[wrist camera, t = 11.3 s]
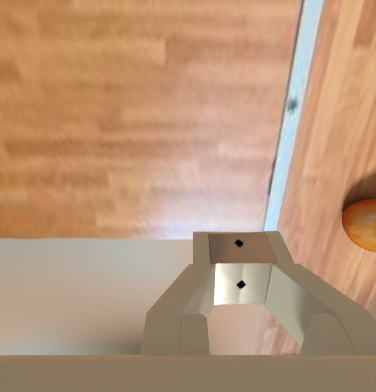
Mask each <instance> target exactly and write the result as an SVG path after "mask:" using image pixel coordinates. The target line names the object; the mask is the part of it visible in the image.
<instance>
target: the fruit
mask: <svg viewBox="0 0 376 392" xmlns="http://www.w3.org/2000/svg"><path fill="white" fill-rule="evenodd" d="M342 224H343V228H344V230H345V232H346V234H347V235H348V237H349V238H350V239H351V240H352V241H353V242H354V243H355V244H356V245H358V246H360V247H361V248H364V249H366V250H368V251H373V252H376V199H366V200H362V201H358V202H355V203H353V204H351V205H350V206H348V207H347V208H346V209H345V210H344V212H343V214H342Z"/></svg>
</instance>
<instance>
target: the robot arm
mask: <svg viewBox="0 0 376 392" xmlns="http://www.w3.org/2000/svg"><path fill="white" fill-rule="evenodd" d="M215 304H265V307H266V308H267V309H268V310H269V311H270V312H271V313H272V315H273V316H274V317H275V318H276V319H277V320H278V321H279V322H280V324H281V325H282V326H283V327H284V328H285V329H286V330H287V332H288V333H289V334H290V335H291V336H292V337H293V338H294V339H295V341H296V342H297V343H298V344H299V345H300V346H301V349H300V352H299V355H209V341H208V328H207V318H208V316H209V314H210V312H211V311H212V309H213V307H214V305H215ZM0 392H376V321H375V319H374V318H373V316H372V315H371V313H370V312H369V311H367V310H366V309H364V308H363V307H361V306H360V305H358V304H357V303H356V302H354V301H353V300H351V299H350V298H348V297H347V296H345V295H344V294H342V293H341V292H340V291H338V290H337V289H335V288H334V287H332V286H331V285H329V284H328V283H327V282H325V281H324V280H322V279H321V278H319V277H318V276H316V275H315V274H313V273H312V272H311V271H309V270H308V269H306V268H305V267H303V266H302V265H300V264H295V263H294V261H293V259H292V257H291V255H290V253H289V251H288V249H287V246H286V244H285V242H284V240H283V238H282V236H281V234H280V232H278V231H264V232H193V264H189V265H188V266H187V268H186V269H185V270H184V271H183V272H182V273H181V274H180V275H179V277H178V278H177V279H176V280H175V281H174V282H173V284H172V285H171V286H170V287H169V288H168V289H167V290H166V292H165V293H164V294H163V295H162V296H161V297H160V298H159V300H158V301H157V302H156V303H155V304H154V305H153V306H152V307H151V309H150V310H149V311H148V312H147V315H146V322H145V328H144V333H143V339H142V346H141V352H140V355H0Z"/></svg>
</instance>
